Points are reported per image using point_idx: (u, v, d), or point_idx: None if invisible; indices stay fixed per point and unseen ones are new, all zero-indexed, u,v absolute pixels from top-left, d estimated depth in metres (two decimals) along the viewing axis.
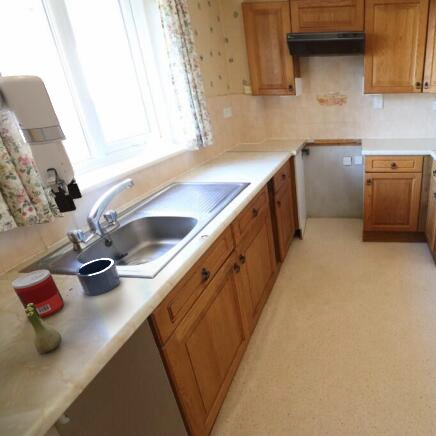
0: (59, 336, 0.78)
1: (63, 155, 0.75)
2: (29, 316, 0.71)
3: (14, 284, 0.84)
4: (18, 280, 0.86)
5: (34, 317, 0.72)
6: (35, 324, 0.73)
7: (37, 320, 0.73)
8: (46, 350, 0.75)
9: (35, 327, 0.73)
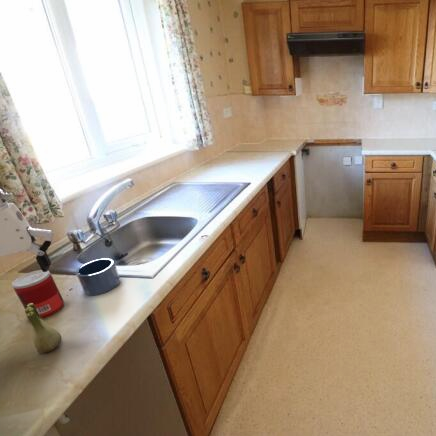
0: (59, 336, 0.78)
1: None
2: (29, 316, 0.71)
3: (14, 284, 0.84)
4: (18, 280, 0.86)
5: (34, 317, 0.72)
6: (35, 324, 0.73)
7: (37, 320, 0.73)
8: (46, 350, 0.75)
9: (35, 327, 0.73)
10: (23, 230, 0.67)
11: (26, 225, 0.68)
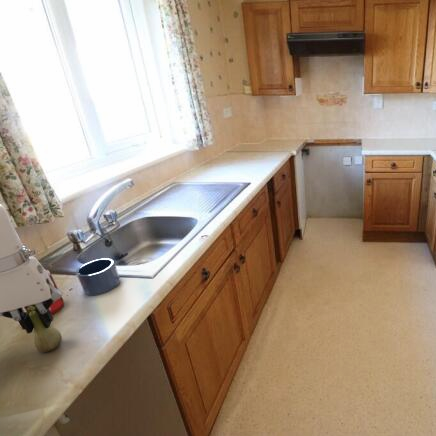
0: (59, 336, 0.78)
1: (0, 287, 0.67)
2: (31, 316, 0.72)
3: None
4: None
5: (36, 316, 0.72)
6: (36, 323, 0.73)
7: (38, 319, 0.73)
8: (46, 350, 0.75)
9: (36, 326, 0.73)
10: (43, 282, 0.71)
11: (45, 277, 0.73)
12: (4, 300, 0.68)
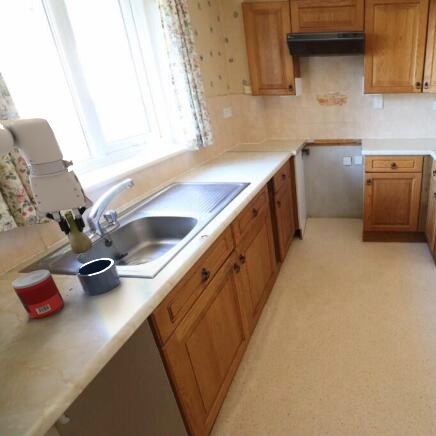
0: (90, 242, 0.93)
1: (45, 189, 0.82)
2: (68, 218, 0.86)
3: (14, 284, 0.84)
4: (18, 280, 0.86)
5: (72, 219, 0.87)
6: (72, 225, 0.87)
7: (74, 223, 0.88)
8: (80, 250, 0.90)
9: (72, 228, 0.88)
10: (79, 190, 0.86)
11: (80, 186, 0.87)
12: (48, 201, 0.83)
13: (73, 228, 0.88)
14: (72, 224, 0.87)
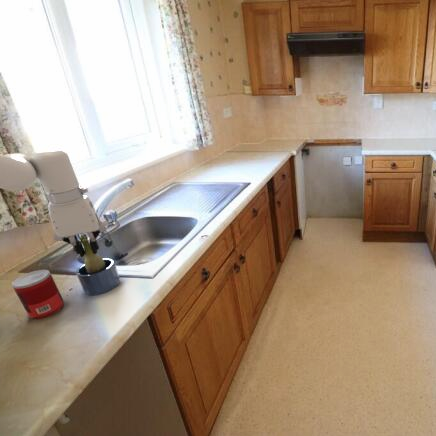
0: (104, 262, 0.98)
1: (63, 215, 0.87)
2: (84, 241, 0.91)
3: (14, 284, 0.84)
4: (18, 280, 0.86)
5: (87, 242, 0.92)
6: (87, 248, 0.93)
7: (89, 245, 0.93)
8: (94, 271, 0.95)
9: (87, 251, 0.93)
10: (94, 215, 0.91)
11: (95, 211, 0.93)
12: (65, 227, 0.88)
13: (88, 251, 0.93)
14: (87, 247, 0.93)
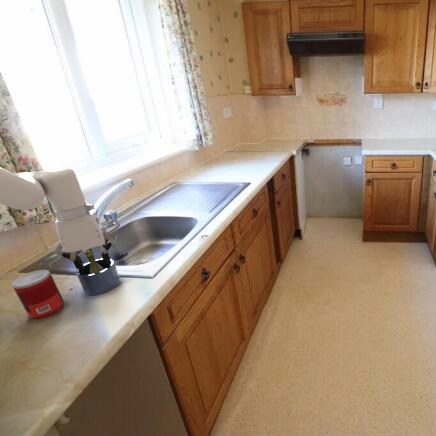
0: None
1: (70, 232, 0.89)
2: (89, 256, 0.93)
3: (14, 284, 0.84)
4: (18, 280, 0.86)
5: (92, 257, 0.94)
6: (93, 263, 0.95)
7: (94, 260, 0.95)
8: None
9: (92, 265, 0.95)
10: (100, 231, 0.93)
11: (101, 227, 0.95)
12: (72, 242, 0.91)
13: (93, 265, 0.95)
14: (92, 262, 0.95)
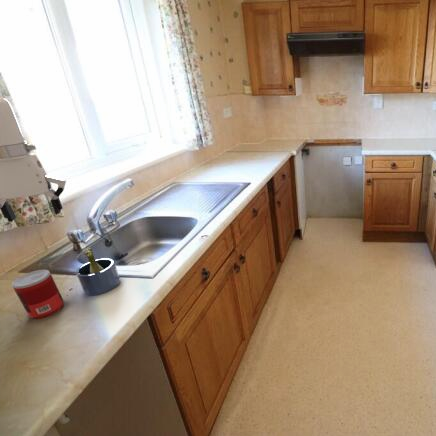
0: None
1: (4, 173, 0.77)
2: (89, 256, 0.93)
3: (14, 284, 0.84)
4: (18, 280, 0.86)
5: (92, 257, 0.94)
6: (93, 263, 0.95)
7: (94, 260, 0.95)
8: None
9: (92, 265, 0.95)
10: (42, 176, 0.82)
11: (44, 173, 0.83)
12: (7, 187, 0.79)
13: (93, 265, 0.95)
14: (92, 262, 0.95)
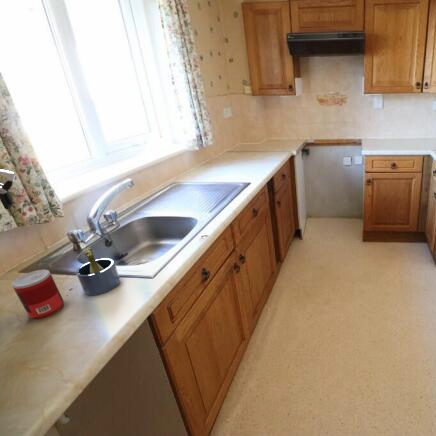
0: None
1: None
2: (89, 256, 0.93)
3: (14, 284, 0.84)
4: (18, 280, 0.86)
5: (92, 257, 0.94)
6: (93, 263, 0.95)
7: (94, 260, 0.95)
8: None
9: (92, 265, 0.95)
10: None
11: None
12: None
13: (93, 265, 0.95)
14: (92, 262, 0.95)
